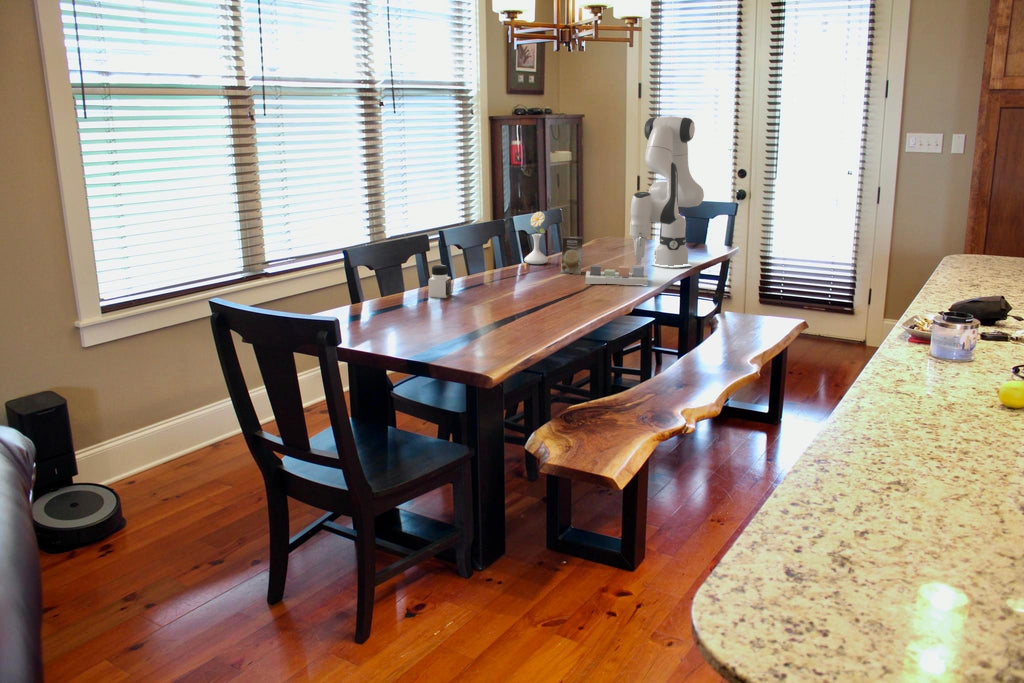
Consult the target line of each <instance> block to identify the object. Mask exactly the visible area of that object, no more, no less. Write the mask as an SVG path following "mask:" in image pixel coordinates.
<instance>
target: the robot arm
mask: <svg viewBox="0 0 1024 683" xmlns="http://www.w3.org/2000/svg"><path fill="white" fill-rule="evenodd" d="M695 129H696V128H695V122H694V121H693V120H692V119H691V118H689V117H681V116H680V117H679V116H664V117H663V116H662V117H661V116H660V117H656V116H655V117H651V118H648V119H647V121H646V122H645V125H644V129H643V132H644V138H646V140H647V144H646V149H645V153H644V154H645V155H644V162H645V164H646V166H647V167H648V168H649V169H650V170H651V171H652V172H653V173H656V174H657V175H660V176H662V177H664V178H665V180H666V181H659V182H653V183H652V184H651V185H650V186H649V189H648V191H639V192H635V193H634V194H632V197H631V198H632V199H631V202H630V204H631V205H630V212H629V213H630V222H629V236H630V237H632V239H631V240H633V249H634V250H633V251H634V255H635V260H636V261H635V264H636V265H637V266H640V265H641V264H642V258H644V257H645V249H646V248H645V246H646V245H645V244H646V241H647V240H648V237H651V231H652V223H660V225H661V226H660V227H661V229H660V230H661V232H660V233H661V234H660V236H659V245H658V246H657V247H656V249H655V250H654V260H655V259H656V261H655V264H659V265H668V266H674V265H683V264H688V263H689V248H688V247H687V246H686V242H687V237H686V227H687V221H686V218H685V217H684V216H683V215H681V214H679V207H680V208H693V207H699V206H700V205H701V204H702V202H703V200H704V195H705V193H704V189H703V188H702V186H701V185H700V184H699V183H697V181H696V180H694V178H693V176H692V175H691V172H690V168H689V166H690V165H689V147H688V145H689V144H688V143H689V142H690V141H691V140H692V139H693V138H694V136H695V133H696V132H695Z"/></svg>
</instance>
